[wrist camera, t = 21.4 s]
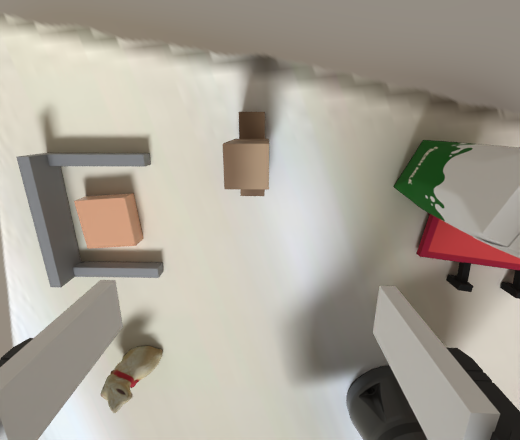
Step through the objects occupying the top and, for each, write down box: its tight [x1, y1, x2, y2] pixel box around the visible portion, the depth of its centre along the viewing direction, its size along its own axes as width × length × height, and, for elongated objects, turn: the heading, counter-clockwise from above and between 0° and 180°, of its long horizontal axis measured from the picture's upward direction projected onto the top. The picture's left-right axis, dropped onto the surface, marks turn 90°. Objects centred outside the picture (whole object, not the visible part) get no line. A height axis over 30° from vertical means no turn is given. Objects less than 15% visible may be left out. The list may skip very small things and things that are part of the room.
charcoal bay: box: [17, 153, 163, 287], centre depth 40 cm, size 14×18×5 cm
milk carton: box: [394, 140, 520, 258], centre depth 29 cm, size 9×9×20 cm
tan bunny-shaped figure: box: [101, 346, 162, 413], centre depth 45 cm, size 6×8×10 cm
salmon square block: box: [74, 193, 143, 248], centre depth 41 cm, size 7×7×3 cm
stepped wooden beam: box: [223, 112, 269, 196], centre depth 32 cm, size 4×10×14 cm, turn 0°
